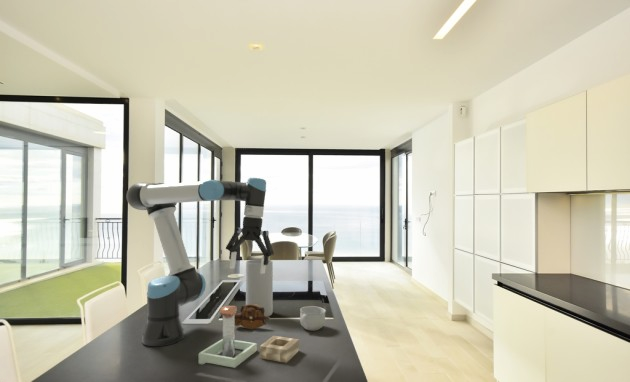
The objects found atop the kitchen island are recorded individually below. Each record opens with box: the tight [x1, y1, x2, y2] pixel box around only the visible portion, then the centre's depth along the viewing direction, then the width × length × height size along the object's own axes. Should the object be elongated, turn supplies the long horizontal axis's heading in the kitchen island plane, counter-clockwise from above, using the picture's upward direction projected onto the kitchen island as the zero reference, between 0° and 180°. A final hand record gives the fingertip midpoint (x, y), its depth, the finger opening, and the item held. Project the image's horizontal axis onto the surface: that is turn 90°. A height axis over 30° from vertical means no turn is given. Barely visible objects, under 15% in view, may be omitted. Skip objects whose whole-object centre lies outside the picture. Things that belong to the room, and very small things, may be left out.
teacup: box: [299, 305, 327, 332], centre depth 154 cm, size 14×11×8 cm
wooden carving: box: [234, 304, 271, 330], centre depth 155 cm, size 16×5×10 cm, turn 82°
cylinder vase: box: [245, 258, 274, 317], centre depth 174 cm, size 12×12×25 cm
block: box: [259, 335, 300, 364], centre depth 127 cm, size 10×10×5 cm
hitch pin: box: [219, 305, 238, 358], centre depth 126 cm, size 6×6×17 cm
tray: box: [198, 338, 258, 369], centre depth 126 cm, size 14×14×4 cm
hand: (247, 270), depth 144 cm, fingers open, 13 cm apart
